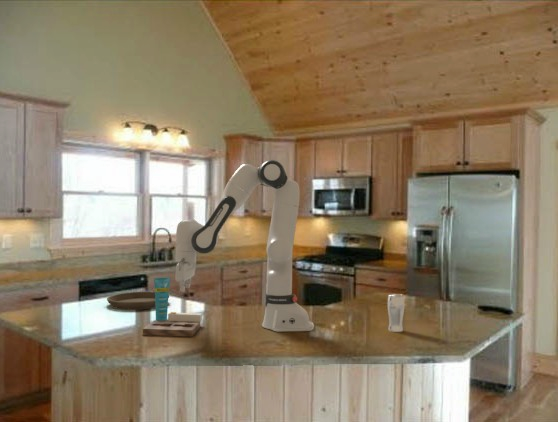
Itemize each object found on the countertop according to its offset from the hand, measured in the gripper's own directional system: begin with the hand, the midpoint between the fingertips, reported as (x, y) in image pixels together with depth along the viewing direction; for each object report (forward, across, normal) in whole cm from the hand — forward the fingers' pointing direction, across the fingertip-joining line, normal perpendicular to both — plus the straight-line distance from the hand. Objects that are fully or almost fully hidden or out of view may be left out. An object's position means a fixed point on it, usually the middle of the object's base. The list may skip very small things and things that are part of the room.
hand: (185, 289), depth 204 cm
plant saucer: (+16, +41, +34) cm, 56 cm away
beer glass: (+15, +3, -90) cm, 92 cm away
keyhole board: (+16, -9, +3) cm, 18 cm away
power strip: (+16, 0, 0) cm, 16 cm away
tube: (+16, +9, +13) cm, 22 cm away
